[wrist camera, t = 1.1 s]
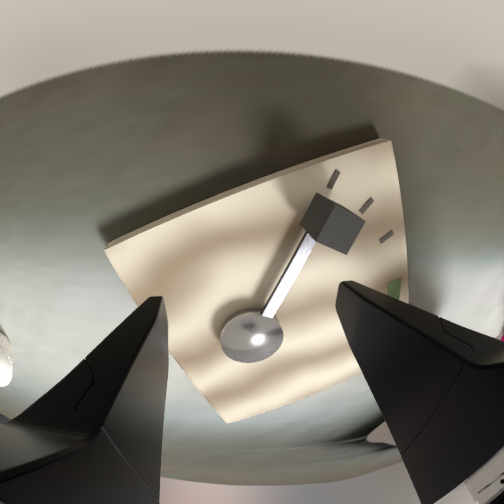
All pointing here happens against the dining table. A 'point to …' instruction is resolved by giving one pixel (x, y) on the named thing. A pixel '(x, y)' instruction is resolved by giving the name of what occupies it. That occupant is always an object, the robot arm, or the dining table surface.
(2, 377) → the white rounded lump
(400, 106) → the dining table surface
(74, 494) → the robot arm
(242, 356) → the dial needle
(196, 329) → the dial board
